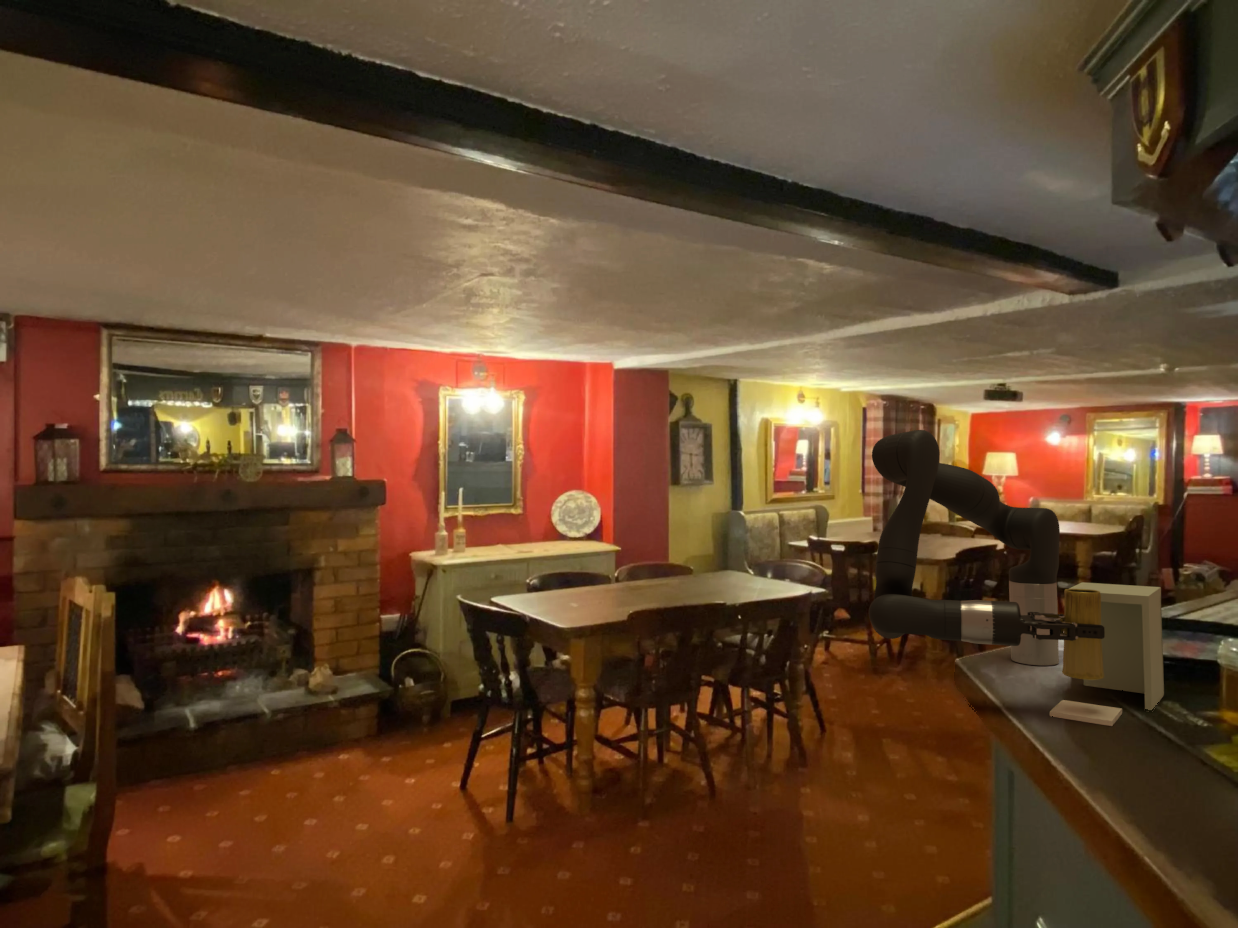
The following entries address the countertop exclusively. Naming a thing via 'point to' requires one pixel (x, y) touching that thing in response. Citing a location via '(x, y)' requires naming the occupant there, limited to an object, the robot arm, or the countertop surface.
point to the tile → (1086, 712)
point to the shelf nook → (1131, 640)
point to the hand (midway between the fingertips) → (1099, 628)
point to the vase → (1083, 652)
